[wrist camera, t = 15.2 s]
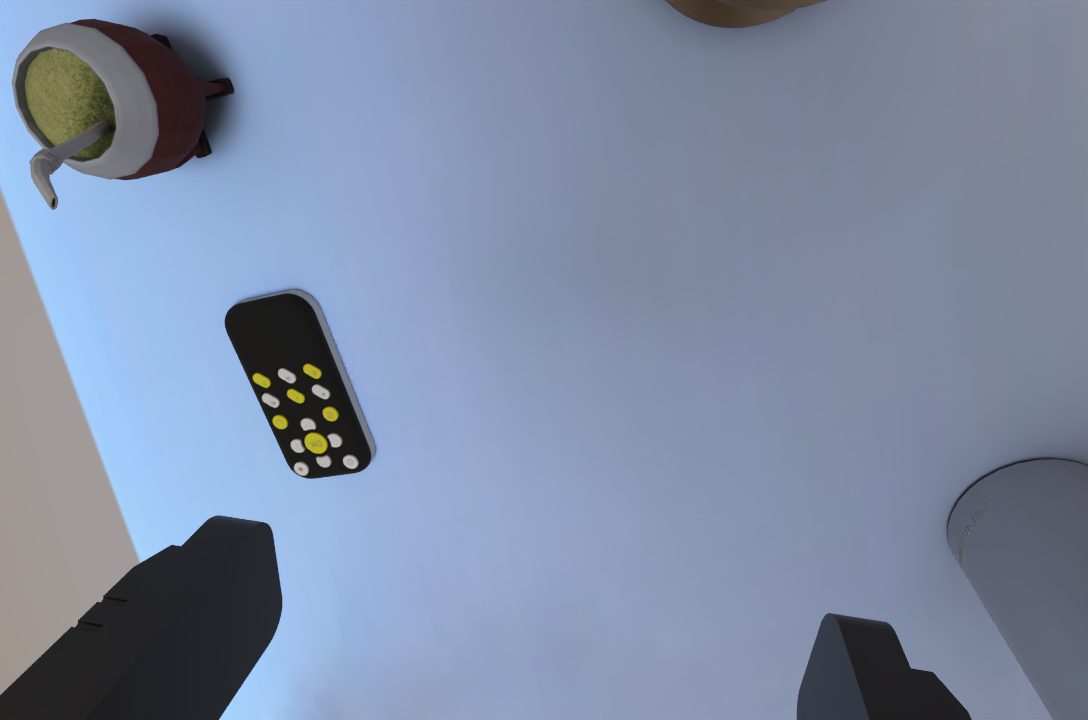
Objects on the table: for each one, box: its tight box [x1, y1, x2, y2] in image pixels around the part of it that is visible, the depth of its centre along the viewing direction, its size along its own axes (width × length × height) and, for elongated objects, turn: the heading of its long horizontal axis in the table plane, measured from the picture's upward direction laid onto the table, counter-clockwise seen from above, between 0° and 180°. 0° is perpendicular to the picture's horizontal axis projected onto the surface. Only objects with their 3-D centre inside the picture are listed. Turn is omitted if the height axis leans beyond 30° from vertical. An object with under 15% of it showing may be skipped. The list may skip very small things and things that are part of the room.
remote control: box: [225, 290, 376, 479], centre depth 42 cm, size 6×13×2 cm, turn 14°
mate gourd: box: [12, 19, 234, 210], centre depth 29 cm, size 8×8×15 cm
